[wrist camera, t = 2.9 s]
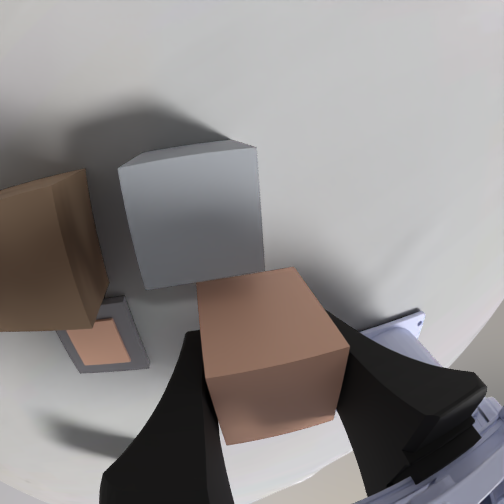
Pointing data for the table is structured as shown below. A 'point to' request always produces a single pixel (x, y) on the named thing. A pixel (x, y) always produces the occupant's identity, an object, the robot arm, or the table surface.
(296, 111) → the table surface
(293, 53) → the table surface
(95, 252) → the walnut block
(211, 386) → the terracotta block
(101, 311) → the tile
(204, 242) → the slate block
